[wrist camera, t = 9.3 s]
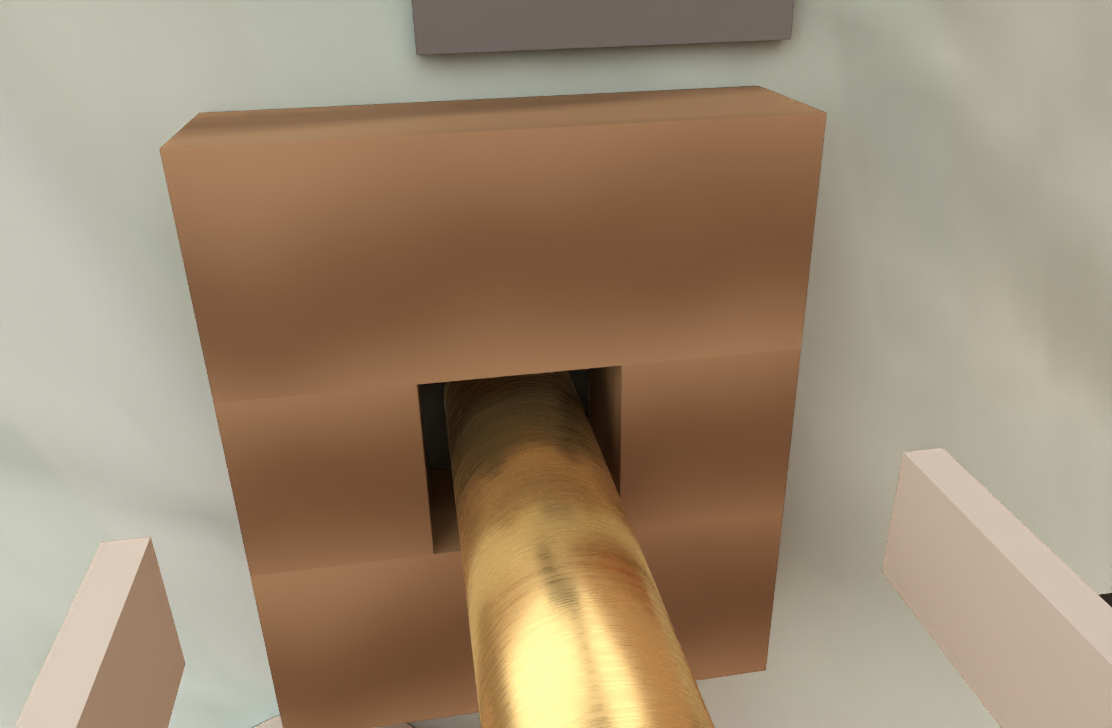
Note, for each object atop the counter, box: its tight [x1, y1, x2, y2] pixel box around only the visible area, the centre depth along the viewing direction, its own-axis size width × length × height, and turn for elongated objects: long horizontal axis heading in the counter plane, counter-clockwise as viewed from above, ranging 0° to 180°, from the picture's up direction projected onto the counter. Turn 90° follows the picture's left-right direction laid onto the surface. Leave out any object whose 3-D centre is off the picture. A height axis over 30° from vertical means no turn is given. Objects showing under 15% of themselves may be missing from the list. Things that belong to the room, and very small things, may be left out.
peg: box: [443, 370, 714, 728], centre depth 17 cm, size 3×3×12 cm
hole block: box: [160, 86, 827, 728], centre depth 21 cm, size 14×12×4 cm
